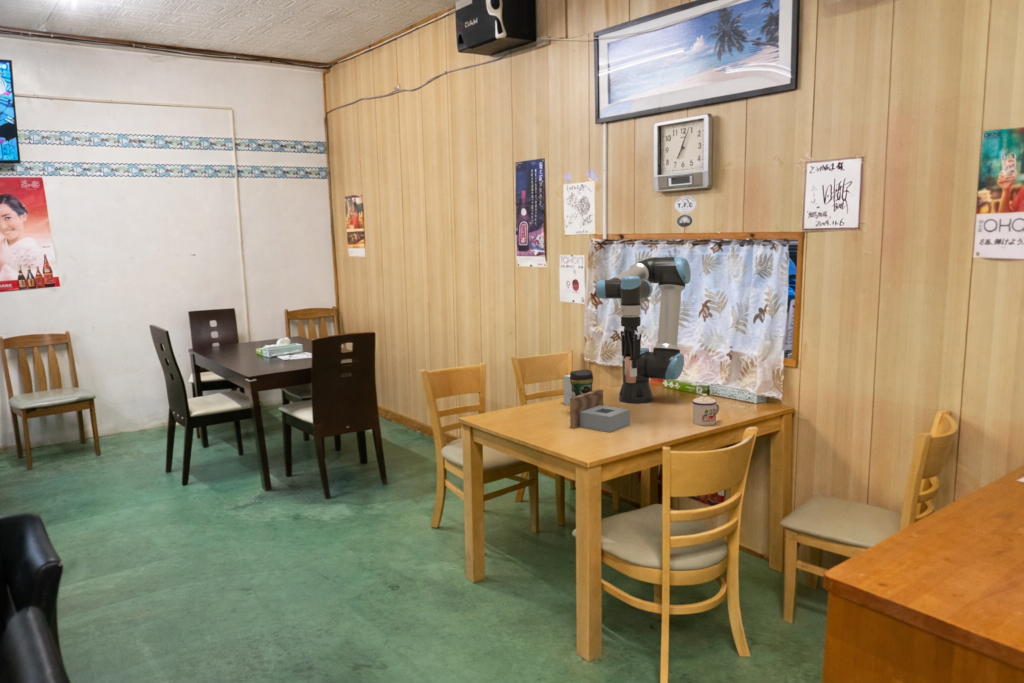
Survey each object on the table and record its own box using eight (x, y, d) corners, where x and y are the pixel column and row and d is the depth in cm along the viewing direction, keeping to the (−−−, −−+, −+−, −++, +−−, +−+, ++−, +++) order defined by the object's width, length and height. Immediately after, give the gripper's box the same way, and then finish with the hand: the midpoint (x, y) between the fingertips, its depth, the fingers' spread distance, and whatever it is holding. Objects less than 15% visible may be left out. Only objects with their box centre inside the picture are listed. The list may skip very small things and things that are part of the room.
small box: (572, 406, 315) (571, 377, 313) (563, 404, 320) (562, 375, 319) (586, 403, 319) (586, 375, 318) (577, 401, 325) (577, 373, 323)
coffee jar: (588, 410, 307) (587, 367, 304) (596, 414, 300) (596, 370, 297) (567, 412, 304) (566, 369, 301) (575, 417, 296) (574, 372, 294)
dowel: (632, 380, 285) (633, 355, 284) (637, 382, 281) (637, 357, 280) (623, 381, 284) (623, 356, 282) (628, 383, 280) (628, 357, 279)
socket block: (599, 419, 290) (599, 405, 289) (629, 424, 281) (629, 409, 280) (579, 427, 279) (579, 411, 279) (610, 432, 270) (610, 416, 270)
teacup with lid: (703, 427, 274) (703, 397, 273) (687, 422, 282) (687, 393, 281) (727, 423, 280) (727, 393, 278) (710, 418, 288) (710, 389, 286)
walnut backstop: (599, 417, 294) (599, 389, 292) (603, 418, 292) (603, 389, 291) (570, 428, 279) (569, 398, 277) (574, 429, 277) (574, 398, 276)
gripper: (612, 314, 286) (612, 372, 289) (631, 318, 270) (631, 379, 273) (629, 313, 288) (629, 371, 291) (649, 317, 272) (649, 378, 275)
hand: (630, 375), depth 282 cm, fingers closed on dowel, 3 cm apart
